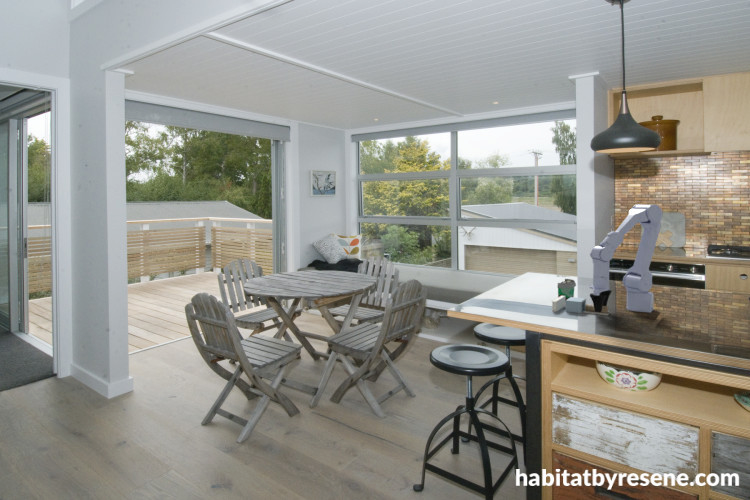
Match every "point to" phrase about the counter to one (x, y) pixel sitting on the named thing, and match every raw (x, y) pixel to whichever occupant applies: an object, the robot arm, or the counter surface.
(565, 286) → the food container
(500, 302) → the counter surface
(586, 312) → the cradle
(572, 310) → the block
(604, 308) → the dowel
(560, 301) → the wall
